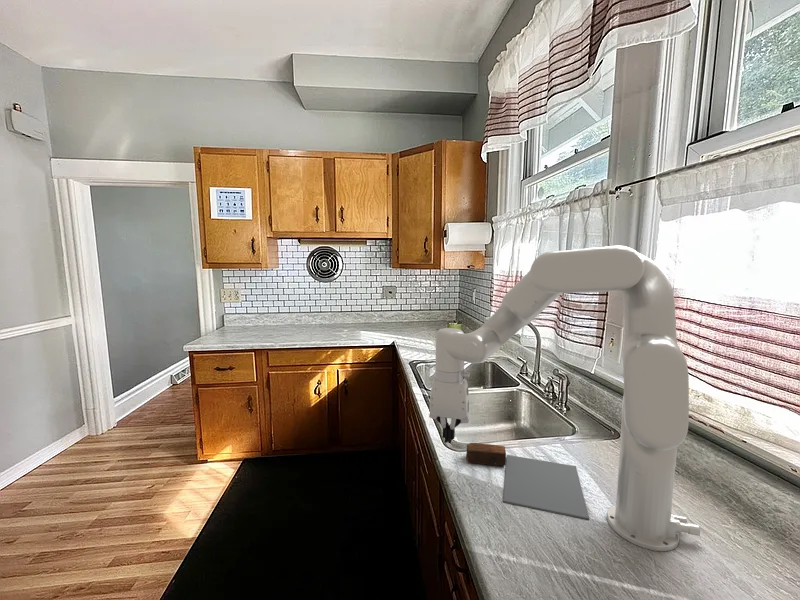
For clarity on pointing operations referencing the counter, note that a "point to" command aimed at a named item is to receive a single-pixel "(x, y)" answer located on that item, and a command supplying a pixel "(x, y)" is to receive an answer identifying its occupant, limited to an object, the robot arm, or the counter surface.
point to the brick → (486, 454)
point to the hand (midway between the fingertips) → (448, 440)
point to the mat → (544, 486)
